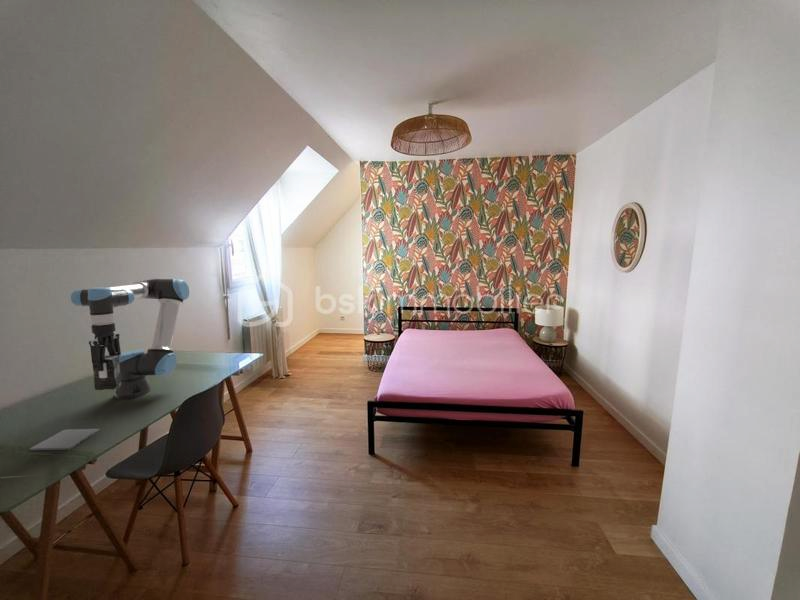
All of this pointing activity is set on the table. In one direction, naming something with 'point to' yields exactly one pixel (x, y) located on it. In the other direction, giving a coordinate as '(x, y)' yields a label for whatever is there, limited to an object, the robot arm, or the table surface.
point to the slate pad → (65, 439)
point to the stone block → (108, 374)
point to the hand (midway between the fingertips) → (108, 374)
